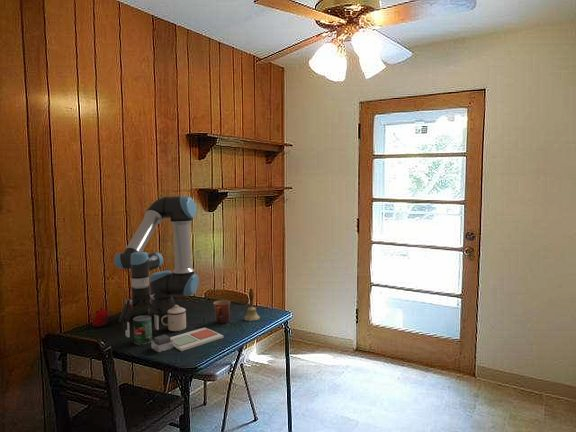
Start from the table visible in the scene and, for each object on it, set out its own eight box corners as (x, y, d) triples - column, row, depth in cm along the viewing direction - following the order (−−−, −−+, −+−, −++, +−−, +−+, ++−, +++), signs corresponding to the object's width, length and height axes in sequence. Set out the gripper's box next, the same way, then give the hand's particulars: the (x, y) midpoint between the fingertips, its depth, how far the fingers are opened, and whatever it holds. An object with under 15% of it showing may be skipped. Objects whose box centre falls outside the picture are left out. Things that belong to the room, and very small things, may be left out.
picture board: (163, 341, 188) (163, 339, 188) (204, 329, 202) (204, 327, 202) (181, 351, 176) (181, 348, 176) (223, 337, 191) (223, 335, 191)
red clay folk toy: (101, 323, 216) (99, 294, 215) (112, 324, 214) (110, 295, 213) (90, 327, 209) (88, 298, 208) (101, 329, 207) (99, 299, 206)
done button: (154, 344, 180) (154, 337, 180) (165, 341, 183) (164, 334, 183) (159, 347, 176) (159, 340, 176) (170, 344, 180) (170, 337, 179)
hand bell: (244, 316, 221) (243, 287, 220) (259, 315, 222) (258, 286, 220) (243, 321, 213) (242, 291, 211) (259, 320, 213) (259, 290, 212)
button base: (151, 348, 180) (151, 341, 180) (166, 343, 185) (166, 337, 185) (158, 352, 175) (158, 345, 175) (174, 348, 180) (173, 341, 179)
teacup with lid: (185, 324, 211) (184, 301, 210) (188, 329, 203) (187, 306, 202) (160, 327, 206) (159, 305, 205) (163, 333, 198) (161, 309, 197)
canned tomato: (154, 338, 192) (153, 314, 192) (149, 344, 185) (148, 320, 184) (137, 338, 192) (136, 315, 191) (131, 345, 184) (130, 320, 184)
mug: (217, 318, 218) (216, 299, 217) (233, 319, 216) (232, 300, 215) (208, 326, 206) (208, 306, 206) (225, 327, 205) (224, 307, 204)
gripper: (115, 292, 175) (118, 341, 177) (170, 283, 192) (171, 327, 194) (109, 290, 181) (111, 337, 182) (162, 280, 198) (164, 324, 199)
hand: (142, 332), depth 188 cm, fingers open, 13 cm apart
